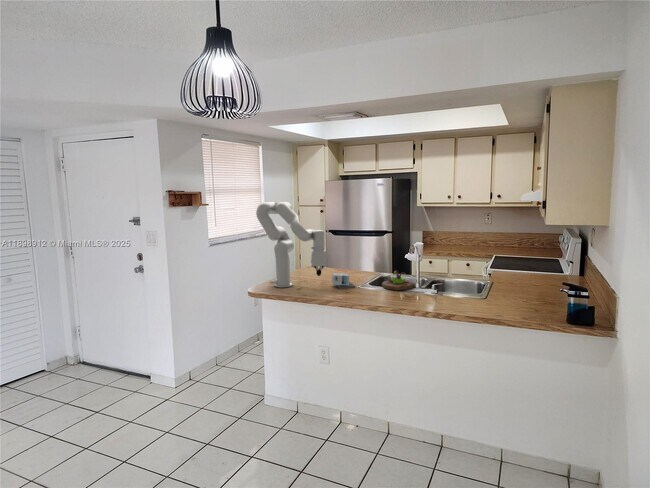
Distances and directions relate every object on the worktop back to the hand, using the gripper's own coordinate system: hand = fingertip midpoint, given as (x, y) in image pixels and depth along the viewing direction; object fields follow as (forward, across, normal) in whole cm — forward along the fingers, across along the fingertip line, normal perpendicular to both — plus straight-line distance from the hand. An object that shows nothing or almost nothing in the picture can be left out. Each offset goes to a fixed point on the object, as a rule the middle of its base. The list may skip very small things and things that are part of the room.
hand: (318, 275), depth 272 cm
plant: (+7, +51, -13) cm, 53 cm away
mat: (+7, +17, -2) cm, 19 cm away
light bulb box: (+2, +9, -2) cm, 9 cm away
